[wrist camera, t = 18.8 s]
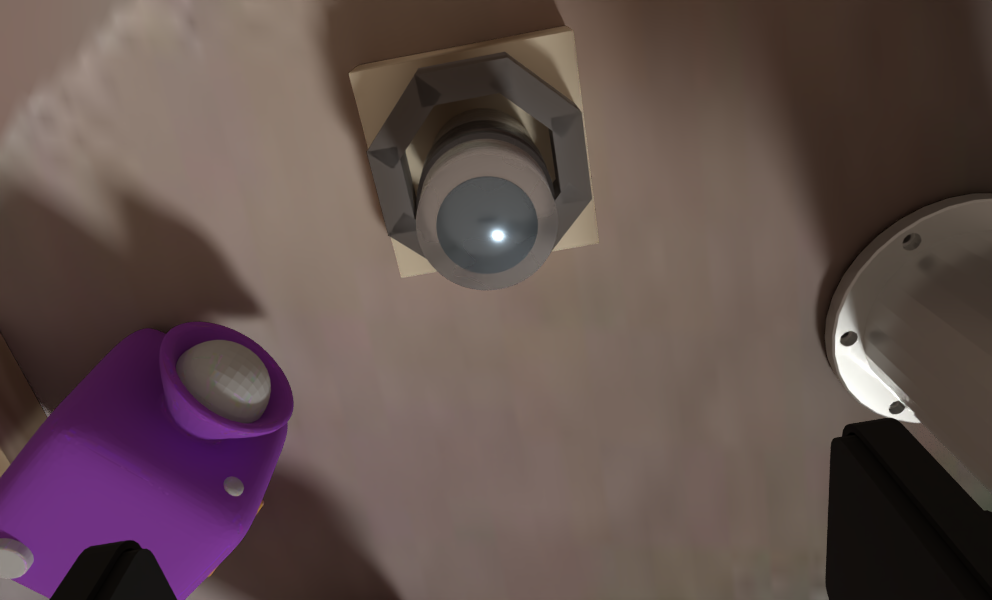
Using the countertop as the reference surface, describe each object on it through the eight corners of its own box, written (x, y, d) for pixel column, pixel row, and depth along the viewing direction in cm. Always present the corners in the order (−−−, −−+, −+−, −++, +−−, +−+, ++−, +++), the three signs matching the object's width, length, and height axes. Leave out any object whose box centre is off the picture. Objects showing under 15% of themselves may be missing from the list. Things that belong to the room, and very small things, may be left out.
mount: (565, 25, 29) (580, 34, 25) (590, 224, 33) (606, 259, 29) (357, 65, 30) (339, 80, 26) (406, 257, 34) (397, 296, 30)
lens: (530, 94, 28) (551, 137, 21) (547, 206, 30) (572, 282, 23) (414, 116, 28) (394, 167, 21) (439, 226, 30) (429, 307, 23)
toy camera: (345, 345, 36) (302, 472, 27) (241, 521, 41) (174, 680, 32) (139, 243, 33) (14, 347, 24) (53, 446, 38) (-78, 595, 29)
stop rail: (-7, 320, 34) (-55, 356, 31) (110, 531, 40) (79, 579, 37) (-35, 325, 35) (-87, 361, 31) (85, 535, 40) (52, 583, 37)
